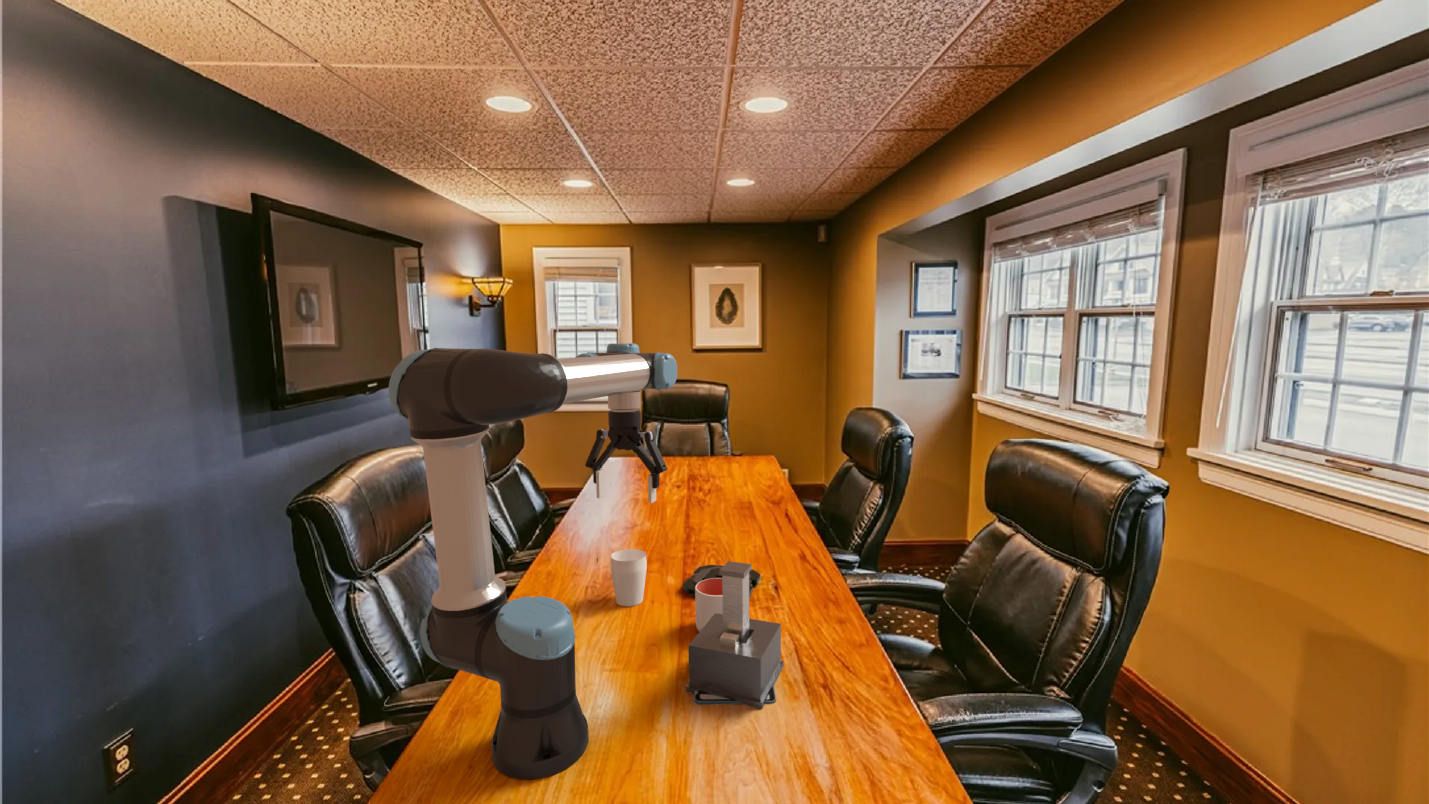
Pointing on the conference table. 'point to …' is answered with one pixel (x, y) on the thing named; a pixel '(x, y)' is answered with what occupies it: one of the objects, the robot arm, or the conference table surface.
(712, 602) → the cup
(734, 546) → the conference table surface
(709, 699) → the smartphone
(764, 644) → the housing
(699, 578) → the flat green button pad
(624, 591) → the cup
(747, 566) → the column
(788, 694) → the conference table surface
